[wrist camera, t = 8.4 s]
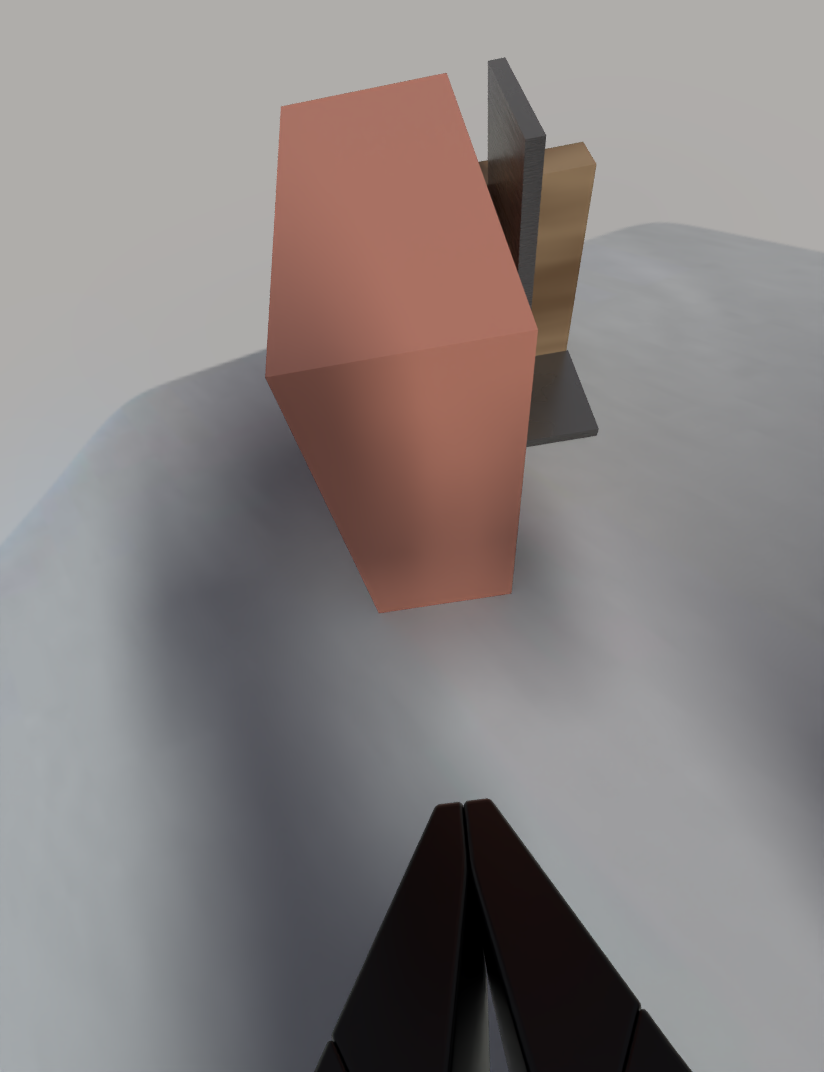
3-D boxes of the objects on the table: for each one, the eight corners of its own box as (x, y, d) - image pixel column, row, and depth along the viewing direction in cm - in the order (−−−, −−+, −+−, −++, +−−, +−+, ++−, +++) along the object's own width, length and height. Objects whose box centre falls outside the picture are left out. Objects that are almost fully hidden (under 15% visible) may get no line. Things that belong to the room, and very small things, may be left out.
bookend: (596, 435, 27) (686, 107, 15) (508, 449, 27) (525, 139, 15) (566, 357, 30) (620, 33, 18) (487, 370, 30) (488, 61, 18)
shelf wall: (564, 357, 30) (596, 164, 21) (344, 395, 30) (289, 223, 22) (556, 334, 31) (583, 141, 22) (343, 372, 32) (289, 198, 23)
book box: (511, 593, 23) (537, 329, 11) (379, 613, 23) (265, 377, 11) (462, 376, 30) (446, 73, 18) (362, 393, 31) (281, 106, 18)
